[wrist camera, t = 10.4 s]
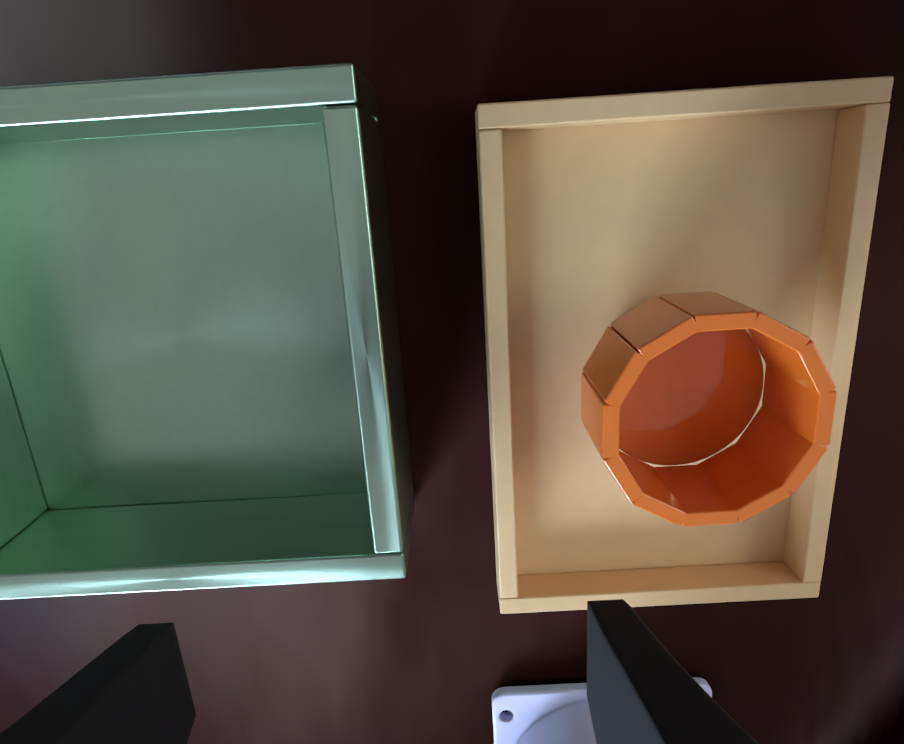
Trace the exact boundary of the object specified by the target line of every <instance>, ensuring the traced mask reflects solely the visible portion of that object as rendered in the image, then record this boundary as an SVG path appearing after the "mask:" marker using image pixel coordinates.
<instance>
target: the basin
mask: <svg viewBox="0 0 904 744" xmlns="http://www.w3.org/2000/svg"><path fill="white" fill-rule="evenodd" d="M414 502H415V500H414V489H413V478H412V467H411V456H410V445H409V434H408V423H407V412H406V401H405V390H404V379H403V368H402V358H401V347H400V336H399V325H398V314H397V303H396V292H395V281H394V270H393V259H392V248H391V237H390V226H389V215H388V204H387V193H386V182H385V171H384V160H383V149H382V139H381V128H380V117H379V106H378V95H377V91H376V89H375V88H374V87H373V86H372V85H371V84H370V83H369V81H368V80H367V79H366V78H365V77H364V75H363V74H362V73H361V72H360V71H359V69H358V68H357V67H356V66H355V65H354V64H353V63H351V62H346V63H331V64H317V65H303V66H288V67H274V68H259V69H245V70H230V71H216V72H201V73H187V74H172V75H158V76H143V77H129V78H115V79H100V80H86V81H71V82H57V83H42V84H28V85H13V86H0V600H6V599H25V598H44V597H62V596H81V595H100V594H118V593H137V592H156V591H175V590H193V589H212V588H231V587H250V586H268V585H287V584H306V583H324V582H343V581H362V580H381V579H399V578H405V577H406V571H407V563H408V554H409V545H410V537H411V528H412V519H413V511H414V510H413V509H414Z"/></svg>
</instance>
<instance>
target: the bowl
mask: <svg viewBox="0 0 904 744" xmlns="http://www.w3.org/2000/svg"><path fill="white" fill-rule="evenodd" d="M746 329H748V331H749V333H750V334H751V335H750V334H749V333H748V332H747V330H746ZM751 336H752V337H751ZM759 351H760V352H759ZM760 353H761V355H762V357H763V359H764V361H765V363H766V369H765V379H764V371H763V363H762V359H761V355H760ZM583 371H584V372H582V374H581V419H582V420H583V421H582V422H583V424H584V426H585V428H586V430H587V432H588V434H589V436H590V437H591V439H592V441H593V443H594V445H595V447H596V448H597V450H598V452H599V454H600V456H601V458H602V460H603V461H604V463H605V465H606V466H607V468H608V469H609V471H610V472H611V474H612V475H613V477H614V478H615V480H616V482H617V483H618V485H619V486H620V488H621V489H622V491H623V492H624V494H625V495H626V497H627V499H628V500H629V501H630V502H632V504H633V505H635V506H637V507H639V508H641V509H643V510H646V511H648V512H650V513H652V514H654V515H656V516H659V517H661V518H663V519H665V520H667V521H669V522H672V523H674V524H676V525H678V526H680V525H682V526H684V527H687V526H705V525H723V524H737V523H738V521H739V522H743V521H745V520H747V519H749V518H751V517H753V516H755V515H756V514H758V513H760V512H762V511H764V510H766V509H768V508H770V507H772V506H773V505H775V504H777V503H779V502H781V501H783V500H785V499H787V498H788V497H790V496H791V494H790V492H791V493H795V492H796V490H797V489H798V488H799V486H800V485H801V484H802V482H803V481H804V480H805V478H806V477H807V476H808V474H809V473H810V472H811V470H812V469H813V468H814V466H815V465H816V464H817V462H818V461H819V460H820V458H821V457H822V456H823V454H824V453H825V452H826V450H827V449H828V448H827V447H826V446H825V445H829V444H830V438H831V430H832V423H833V416H834V409H835V402H836V394H837V392H836V391H835V389H836V386H835V384H834V382H833V380H832V378H831V376H830V374H829V372H828V370H827V368H826V366H825V364H824V362H823V360H822V358H821V356H820V354H819V352H818V350H817V348H816V346H815V344H814V342H813V341H812V340H810V338H809V337H808V336H806V335H804V334H802V333H800V332H798V331H796V330H794V329H793V328H791V327H789V326H787V325H785V324H783V323H781V322H779V321H777V320H776V319H774V318H772V317H770V316H768V315H766V314H764V313H762V312H760V311H758V310H756V309H753V308H751V307H748V306H746V305H744V304H741V303H739V302H737V301H734V300H732V299H730V298H727V297H725V296H723V295H720V294H718V293H715V292H714V293H713V292H710V291H708V292H692V293H676V294H660V295H659V296H658V297H657V296H654V297H653V298H651V299H649V300H648V301H646V302H645V303H643V304H641V305H640V306H638V307H636V308H635V309H633V310H632V311H630V312H628V313H627V314H625V315H623V316H622V317H620V318H619V319H617V320H615V321H614V322H612V323H611V327H610V326H608V327H607V328H606V330H605V332H604V333H603V335H602V337H601V339H600V340H599V342H598V344H597V345H596V347H595V349H594V350H593V352H592V354H591V356H590V357H589V359H588V361H587V362H586V364H585V366H584V367H583ZM763 384H764V389H763ZM762 390H763V399H762V406H761V408H760V409H759V411H758V412H757V414H756V415H755V416H754V414H755V412H756V410H757V407H758V405H759V402H760V399H761V396H762ZM753 416H754V418H753ZM752 418H753V419H752ZM751 419H752V421H751ZM750 421H751V422H750ZM749 422H750V424H749ZM748 424H749V425H748ZM747 425H748V426H747ZM746 427H747V428H746ZM745 428H746V429H745ZM744 429H745V431H744V432H743V430H744ZM742 432H743V434H742V435H741V437H740V438H739V439H738V441H737V442H736V443H735V444H733V445H731V446H729V447H728V448H726V449H724V448H725V447H726V446H728V445H729V444H730V443H731V442H733V441H734V440H735V439H736V438H737V437H738V436H739V435H740V434H741V433H742ZM619 449H620V450H622V451H623V452H624V453H623V452H621V451H619ZM722 449H724V450H722ZM720 450H722V451H720ZM719 451H720V452H719ZM717 452H719V453H717ZM625 453H626V454H625ZM716 453H717V454H716ZM627 454H628V455H627ZM714 454H715V455H714ZM711 455H713V456H711ZM709 456H711V457H710V458H708V459H706V460H704V461H702V462H701V463H699V464H697V465H683V464H688V463H693V462H697V461H699V460H702V459H705V458H707V457H709ZM642 461H643V462H642ZM644 462H647V463H651V464H657V465H680V466H663V467H653V466H651V465H649V464H646V463H644Z"/></svg>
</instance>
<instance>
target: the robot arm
mask: <svg viewBox="0 0 904 744" xmlns="http://www.w3.org/2000/svg"><path fill="white" fill-rule="evenodd" d="M505 710H508V711H509V712H502V711H505ZM492 715H493V733H494V744H758V743H757V742H756V741H755V740H754V739H753V738H752V737H751V736H750V735H749V734H748V733H747V732H746V731H745V730H744V729H743V728H742V727H741V726H739V725H738V724H737V723H736V722H735V721H734V720H733V719H732V718H731V717H730V716H729V715H728V714H727V713H726V712H725V711H724V710H723V709H722V708H721V707H720V706H719V705H718V704H717V703H716V702H715V701H714V700H713V699H712V690H711V688H710V686H709V684H708V682H707V681H706V680H705V679H703V678H699V677H692V676H691V675H690V674H689V673H688V672H687V671H686V670H685V669H684V668H683V667H682V666H681V665H680V664H679V662H678V661H677V660H676V659H675V658H674V657H673V656H672V655H671V653H670V652H669V651H668V650H667V649H666V648H665V647H664V646H663V644H662V643H661V642H660V641H659V640H658V639H657V637H656V636H655V635H654V634H653V633H652V632H651V630H650V629H649V628H648V627H647V626H646V625H645V623H644V622H643V621H642V620H641V619H640V617H639V616H638V615H637V614H636V612H635V611H634V610H633V609H632V608H631V606H630V605H629V604H628V603H627V602H626V601H624V600H623V599H617V600H597V601H587V683H569V684H549V685H529V686H509V687H501V688H498V689H497V690H495V691H494V693H493V694H492ZM195 716H196V713H195V709H194V705H193V701H192V697H191V693H190V689H189V684H188V680H187V676H186V672H185V668H184V664H183V660H182V656H181V652H180V648H179V644H178V640H177V635H176V631H175V627H174V623H159V624H140V625H138V626H136V627H135V628H134V629H132V630H131V631H130V632H128V633H127V634H125V635H124V636H123V637H122V638H120V639H119V640H118V641H116V642H115V643H114V644H113V645H111V646H110V647H109V648H108V649H106V650H105V651H104V652H103V653H101V654H100V655H99V656H98V657H96V658H95V659H94V660H93V661H91V662H90V663H89V664H88V665H86V666H85V667H84V668H83V669H81V670H80V671H79V672H78V673H77V674H75V675H74V676H73V677H72V678H70V679H69V680H68V681H67V682H65V683H64V684H63V685H62V686H60V687H59V688H58V689H57V690H55V691H54V692H53V693H52V694H50V695H49V696H48V697H47V698H45V699H44V700H43V701H42V702H40V703H39V704H38V705H37V706H35V707H34V708H33V709H32V710H30V711H29V712H28V713H27V714H25V715H24V716H23V717H22V718H20V719H19V720H18V721H17V722H15V723H14V724H13V725H11V726H10V727H9V728H7V729H6V730H5V731H3V732H2V733H1V734H0V744H187V741H188V738H189V735H190V732H191V729H192V725H193V722H194V719H195Z"/></svg>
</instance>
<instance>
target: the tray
mask: <svg viewBox="0 0 904 744" xmlns="http://www.w3.org/2000/svg"><path fill="white" fill-rule="evenodd" d="M893 80H894V77H893V76H881V77H867V78H852V79H837V80H822V81H807V82H793V83H778V84H763V85H748V86H733V87H719V88H704V89H689V90H674V91H660V92H645V93H630V94H615V95H600V96H586V97H571V98H556V99H541V100H526V101H512V102H497V103H482V104H478V105H477V108H476V111H475V129H476V150H477V172H478V193H479V214H480V236H481V257H482V278H483V300H484V321H485V342H486V363H487V385H488V406H489V427H490V449H491V470H492V491H493V513H494V534H495V555H496V577H497V588H498V597H499V606H500V612H501V614H509V613H528V612H547V611H566V610H585V609H587V601H597V600H617V599H623V600H624V601H626V602H627V603H628V604H629V605H630V606H631V607H643V606H662V605H681V604H700V603H719V602H739V601H758V600H777V599H796V598H815V597H818V596H819V590H820V581H821V577H822V570H823V563H824V556H825V549H826V542H827V535H828V529H829V522H830V515H831V508H832V501H833V494H834V487H835V480H836V474H837V467H838V460H839V453H840V446H841V439H842V432H843V425H844V419H845V412H846V405H847V398H848V391H849V384H850V377H851V370H852V364H853V357H854V350H855V343H856V336H857V329H858V322H859V315H860V309H861V302H862V295H863V288H864V281H865V274H866V267H867V260H868V253H869V247H870V240H871V233H872V226H873V219H874V212H875V205H876V198H877V192H878V185H879V178H880V171H881V164H882V157H883V150H884V143H885V137H886V130H887V123H888V116H889V109H890V103H888V102H889V101H890V100H891V94H892V87H893ZM708 291H710V292H713V293H714V292H715V293H718V294H720V295H723V296H725V297H727V298H730V299H732V300H734V301H737V302H739V303H741V304H744V305H746V306H748V307H751V308H753V309H756V310H758V311H760V312H762V313H764V314H766V315H768V316H770V317H772V318H774V319H776V320H777V321H779V322H781V323H783V324H785V325H787V326H789V327H791V328H793V329H794V330H796V331H798V332H800V333H802V334H804V335H806V336H808V337H809V338H810V340H812V341H813V342H814V344H815V346H816V348H817V350H818V352H819V354H820V356H821V358H822V360H823V362H824V364H825V366H826V368H827V370H828V372H829V374H830V376H831V378H832V380H833V382H834V384H835V386H836V389H835V391H836V392H837V394H836V402H835V409H834V416H833V423H832V430H831V438H830V444H829V445H825V446H826V447H827V448H828V449H827V450H826V452H825V453H824V454H823V456H822V457H821V458H820V460H819V461H818V462H817V464H816V465H815V466H814V468H813V469H812V470H811V472H810V473H809V474H808V476H807V477H806V478H805V480H804V481H803V482H802V484H801V485H800V486H799V488H798V489H797V490H796V492H795V493H791V492H790V494H791V496H790V497H788V498H787V499H785V500H783V501H781V502H779V503H777V504H775V505H773V506H772V507H770V508H768V509H766V510H764V511H762V512H760V513H758V514H756V515H755V516H753V517H751V518H749V519H747V520H745V521H743V522H739V521H738V523H737V524H723V525H705V526H687V527H684V526H682V525H680V526H678V525H676V524H674V523H672V522H669V521H667V520H665V519H663V518H661V517H659V516H656V515H654V514H652V513H650V512H648V511H646V510H643V509H641V508H639V507H637V506H635V505H633V504H632V502H630V501H629V500H628V499H627V497H626V495H625V494H624V492H623V491H622V489H621V488H620V486H619V485H618V483H617V482H616V480H615V478H614V477H613V475H612V474H611V472H610V471H609V469H608V468H607V466H606V465H605V463H604V461H603V460H602V458H601V456H600V454H599V452H598V450H597V448H596V447H595V445H594V443H593V441H592V439H591V437H590V436H589V434H588V432H587V430H586V428H585V426H584V424H583V422H582V421H583V420H582V419H581V374H582V372H584V371H583V367H584V366H585V364H586V362H587V361H588V359H589V357H590V356H591V354H592V352H593V350H594V349H595V347H596V345H597V344H598V342H599V340H600V339H601V337H602V335H603V333H604V332H605V330H606V328H607V327H608V326H610V327H611V323H612V322H614V321H615V320H617V319H619V318H620V317H622V316H623V315H625V314H627V313H628V312H630V311H632V310H633V309H635V308H636V307H638V306H640V305H641V304H643V303H645V302H646V301H648V300H649V299H651V298H653V297H654V296H657V297H658V296H659V295H660V294H676V293H692V292H708ZM746 330H747V332H748V333H749V331H748V329H746ZM749 334H750V333H749ZM750 335H751V334H750ZM751 337H752V336H751ZM759 352H760V351H759ZM760 355H761V353H760ZM761 359H762V363H763V371H764V379H765V369H766V363H765V361H764V359H763V357H762V355H761ZM763 389H764V384H763ZM762 399H763V390H762V396H761V399H760V402H759V405H758V407H757V410H756V412H755V414H754V416H755V415H756V414H757V412H758V411H759V409H760V408H761V406H762ZM754 416H753V418H754ZM753 418H752V419H753ZM752 419H751V421H752ZM751 421H750V422H751ZM750 422H749V424H750ZM749 424H748V425H749ZM748 425H747V426H748ZM746 428H747V427H746ZM746 428H745V429H746ZM745 429H744V430H743V432H744V431H745ZM743 432H742V433H741V434H740V435H739V436H738V437H737V438H736V439H735V440H734V441H733V442H731V443H730V444H729V445H728V446H726V447H725V448H724V449H726V448H728V447H729V446H731V445H733V444H735V443H736V442H737V441H738V439H739V438H740V437H741V435H742V434H743ZM724 449H722V450H724ZM722 450H720V451H722ZM619 451H621V452H623V451H622V450H620V449H619ZM720 451H719V452H720ZM719 452H717V453H719ZM623 453H624V452H623ZM717 453H716V454H717ZM625 454H626V453H625ZM627 455H628V454H627ZM714 455H715V454H714ZM711 456H713V455H711ZM711 456H709V457H707V458H705V459H702V460H699V461H697V462H693V463H688V464H683V465H697V464H699V463H701V462H702V461H704V460H706V459H708V458H710V457H711ZM642 462H643V461H642ZM644 463H646V464H649V465H651V466H653V467H663V466H680V465H657V464H651V463H647V462H644Z"/></svg>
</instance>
